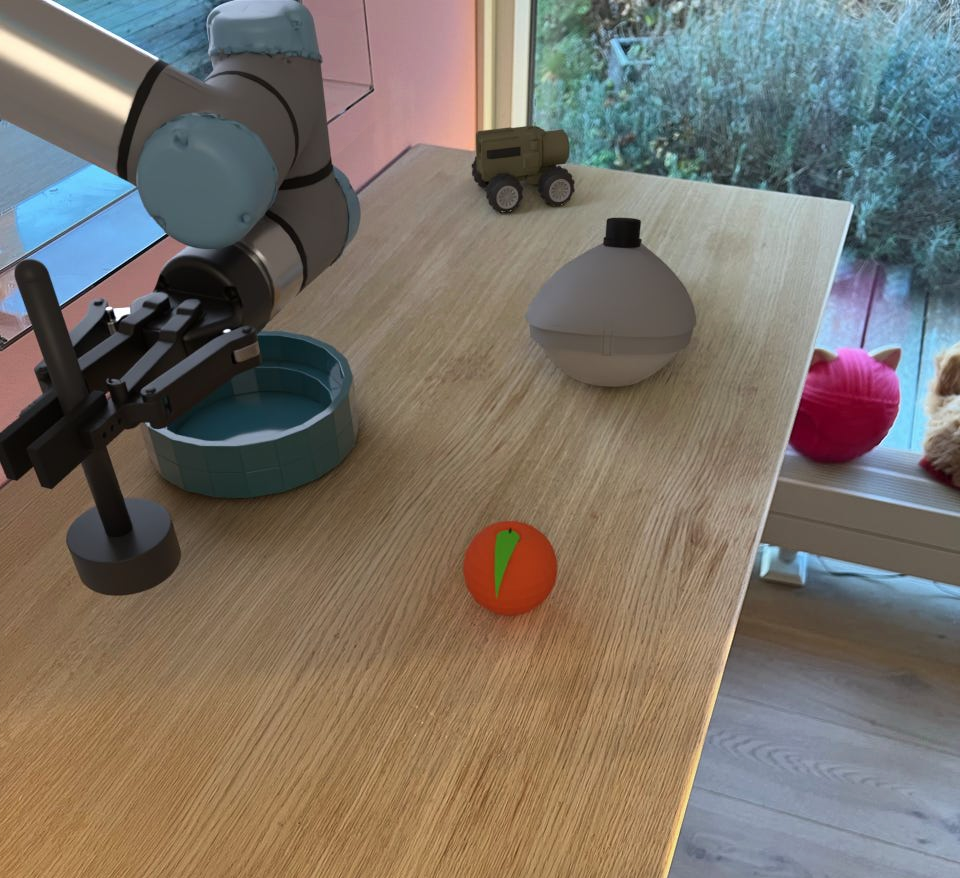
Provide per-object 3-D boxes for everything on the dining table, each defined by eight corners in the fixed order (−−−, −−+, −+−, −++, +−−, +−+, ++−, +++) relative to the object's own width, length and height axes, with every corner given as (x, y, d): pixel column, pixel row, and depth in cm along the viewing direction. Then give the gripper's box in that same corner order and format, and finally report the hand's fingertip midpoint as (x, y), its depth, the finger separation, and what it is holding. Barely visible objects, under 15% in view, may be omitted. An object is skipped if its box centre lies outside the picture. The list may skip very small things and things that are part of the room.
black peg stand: (58, 582, 71) (-69, 278, 55) (117, 522, 76) (15, 225, 60) (144, 606, 69) (38, 298, 54) (200, 542, 74) (117, 242, 58)
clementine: (545, 651, 74) (546, 577, 69) (451, 638, 76) (446, 564, 71) (563, 578, 80) (566, 505, 75) (475, 567, 81) (473, 494, 76)
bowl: (110, 480, 91) (90, 422, 86) (221, 374, 103) (208, 318, 98) (299, 524, 86) (288, 464, 81) (392, 406, 98) (386, 349, 93)
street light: (689, 415, 90) (709, 244, 83) (511, 403, 92) (517, 236, 85) (686, 342, 116) (701, 208, 109) (547, 334, 118) (554, 202, 111)
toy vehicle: (470, 185, 134) (466, 84, 125) (552, 175, 136) (554, 75, 127) (490, 218, 127) (488, 113, 118) (577, 206, 128) (581, 103, 120)
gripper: (327, 348, 76) (146, 542, 61) (155, 316, 80) (-56, 491, 65) (313, 249, 71) (111, 434, 56) (130, 220, 75) (-106, 386, 59)
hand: (22, 464), depth 60 cm, fingers closed on black peg stand, 2 cm apart
